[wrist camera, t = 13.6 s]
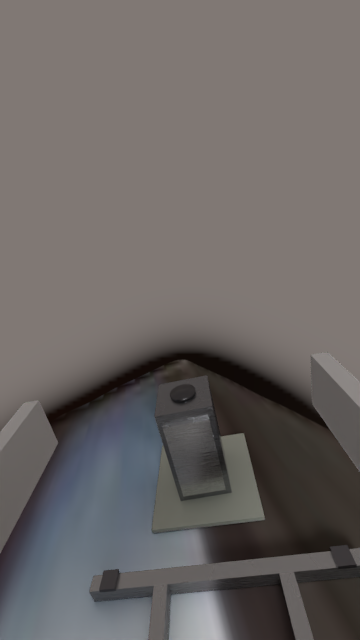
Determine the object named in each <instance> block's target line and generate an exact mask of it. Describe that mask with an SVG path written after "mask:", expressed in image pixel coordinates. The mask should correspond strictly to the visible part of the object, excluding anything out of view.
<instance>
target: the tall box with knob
mask: <svg viewBox="0 0 360 640" xmlns="http://www.w3.org/2000/svg"><path fill="white" fill-rule="evenodd" d="M155 420H156V423H157V426H158V430H159V433H160V436H161V439H162V442H163V446H164V449H165V452H166V455H167V459H168V462H169V465H170V468H171V472H172V475H173V478H174V481H175V485H176V488H177V491H178V494H179V497H180V501H185V500H191V499H197V498H203V497H209V496H215V495H221V494H227V493H232V490H231V485H230V480H229V474H228V469H227V464H226V458H225V453H224V448H223V444H222V439H221V435H220V430H219V426H218V422H217V417H216V413H215V408H214V404H213V399H212V395H211V390H210V386H209V381H208V377H207V375H206V376H201V377H196V378H191V379H186V380H181V381H176V382H170V383H165V384H160V385H159V388H158V396H157V403H156V410H155Z"/></svg>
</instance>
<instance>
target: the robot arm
mask: <svg viewBox="0 0 360 640" xmlns="http://www.w3.org/2000/svg"><path fill="white" fill-rule="evenodd" d="M311 384H312V404H313V406H314V407H315V408H316V410H317V411H318V413H319V414H320V416H321V417H322V418H323V420H324V421H325V423H326V424H327V426H328V427H329V429H330V430H331V431H332V433H333V434H334V436H335V437H336V439H337V440H338V441H339V443H340V444H341V446H342V447H343V449H344V450H345V451H346V453H347V454H348V456H349V457H350V459H351V460H352V461H353V463H354V464H355V466H356V467H357V469H358V470H359V472H360V382H359V381H358V380H357V379H356V378H355V377H354V376H353V375H352V374H351V373H350V372H349V371H347V369H345V368H344V367H343V366H342V365H341V364H340V363H339V362H338V361H337V360H336V359H335V358H333V356H332V355H330V354H329V353H328V352H324V353H318V354H312V355H311ZM57 444H58V441H57V439H56V437H55V435H54V433H53V430H52V428H51V426H50V424H49V421H48V420H47V418H46V415H45V413H44V410H43V408H42V406H41V404H40V401H39V400H37V401H31V402H25V403H23V405H22V406H21V407H20V408H19V409H18V411H17V412H16V413H15V414H14V416H13V417H12V418H11V419H10V420H9V422H8V423H7V424H6V425H5V427H4V428H3V429H2V430H1V431H0V553H1V551H2V549H3V547H4V545H5V544H6V542H7V540H8V538H9V536H10V534H11V532H12V530H13V528H14V526H15V524H16V523H17V521H18V519H19V517H20V515H21V513H22V511H23V509H24V507H25V505H26V504H27V502H28V500H29V498H30V496H31V494H32V492H33V490H34V488H35V486H36V484H37V483H38V481H39V479H40V477H41V475H42V473H43V471H44V469H45V467H46V465H47V463H48V462H49V460H50V458H51V456H52V454H53V452H54V450H55V448H56V446H57Z"/></svg>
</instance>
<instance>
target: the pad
mask: <svg viewBox="0 0 360 640" xmlns="http://www.w3.org/2000/svg"><path fill="white" fill-rule="evenodd" d="M221 439H222V444H223V448H224V453H225V458H226V464H227V469H228V474H229V480H230V485H231V490H232V493H227V494H221V495H215V496H209V497H203V498H197V499H191V500H185V501H180V497H179V494H178V491H177V488H176V485H175V481H174V478H173V475H172V472H171V468H170V465H169V462H168V459H167V455H166V452H165V449H164V446H162V453H161V461H160V469H159V477H158V484H157V492H156V500H155V508H154V516H153V523H152V533H159V532H168V531H176V530H185V529H193V528H201V527H210V526H218V525H227V524H235V523H243V522H252V521H260V520H265V517H264V513H263V509H262V505H261V501H260V497H259V493H258V489H257V485H256V480H255V476H254V472H253V468H252V464H251V460H250V456H249V452H248V448H247V444H246V440H245V436H244V433H241V434H234V435H228V436H221Z"/></svg>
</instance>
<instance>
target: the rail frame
mask: <svg viewBox="0 0 360 640" xmlns="http://www.w3.org/2000/svg"><path fill="white" fill-rule="evenodd" d="M351 577H360V548H356V549H349V548H348V546H347V545H342V546H332V547H330V551H327V552H317V553H308V554H298V555H289V556H279V557H270V558H260V559H251V560H241V561H231V562H222V563H212V564H203V565H193V566H184V567H174V568H164V569H155V570H145V571H136V572H126V573H119V569H116V570H106V571H104V572H103V575H97V576H93V580H92V584H91V587H90V591H89V592H90V594H91V596H92V598H93V600H94V602H96V601H106V600H117V599H128V598H138V597H149V596H153V598H152V608H151V617H150V627H149V637H148V640H169V622H170V603H171V594H181V593H192V592H202V591H213V590H224V589H234V588H245V587H256V586H266V585H277V584H281V586H282V590H283V594H284V598H285V602H286V606H287V610H288V614H289V618H290V622H291V626H292V630H293V634H294V639H295V640H314V639H313V635H312V632H311V629H310V625H309V622H308V618H307V615H306V612H305V608H304V605H303V601H302V598H301V595H300V591H299V588H298V584H297V583H298V582H309V581H320V580H330V579H341V578H351Z"/></svg>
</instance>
